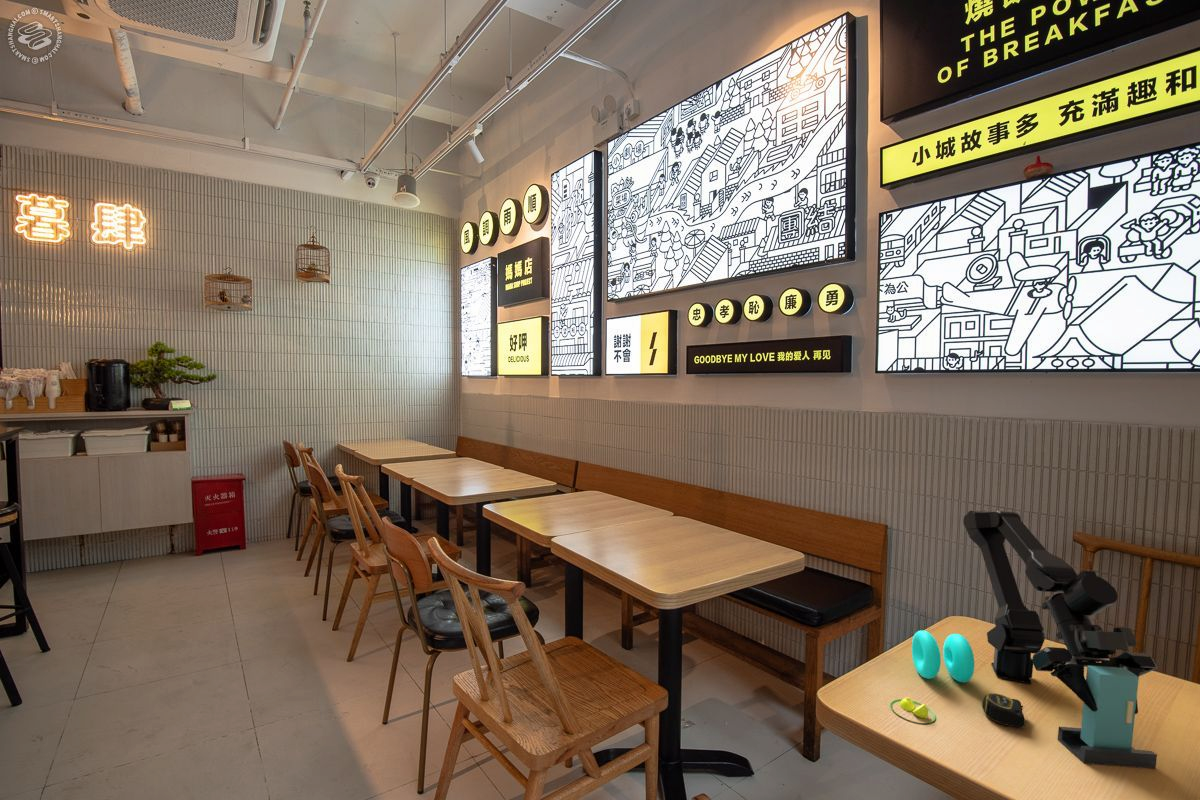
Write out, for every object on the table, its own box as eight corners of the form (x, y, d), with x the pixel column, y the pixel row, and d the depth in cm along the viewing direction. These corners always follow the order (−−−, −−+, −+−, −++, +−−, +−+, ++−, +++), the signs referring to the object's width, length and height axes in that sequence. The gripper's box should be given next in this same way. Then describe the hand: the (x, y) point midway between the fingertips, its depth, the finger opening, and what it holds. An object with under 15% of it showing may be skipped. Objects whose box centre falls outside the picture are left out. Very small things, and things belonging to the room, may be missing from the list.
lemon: (940, 714, 116) (941, 701, 116) (927, 731, 111) (928, 717, 111) (898, 697, 122) (899, 684, 122) (884, 712, 117) (885, 699, 116)
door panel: (1080, 738, 107) (1087, 665, 106) (1117, 741, 107) (1124, 668, 106) (1093, 750, 104) (1101, 675, 103) (1132, 753, 103) (1140, 677, 102)
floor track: (1057, 739, 109) (1058, 726, 109) (1124, 744, 108) (1126, 731, 108) (1083, 763, 103) (1085, 749, 102) (1155, 768, 102) (1157, 754, 102)
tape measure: (1024, 734, 110) (1025, 716, 110) (981, 721, 114) (983, 703, 114) (1022, 717, 116) (1023, 699, 116) (981, 705, 120) (982, 687, 120)
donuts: (975, 692, 124) (978, 647, 124) (925, 686, 126) (928, 642, 125) (954, 668, 134) (957, 626, 134) (908, 663, 136) (911, 622, 135)
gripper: (1047, 605, 108) (1087, 696, 98) (1153, 612, 107) (1205, 704, 97) (1017, 627, 117) (1050, 712, 106) (1114, 633, 115) (1158, 720, 105)
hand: (1115, 712), depth 103 cm, fingers closed on door panel, 6 cm apart
